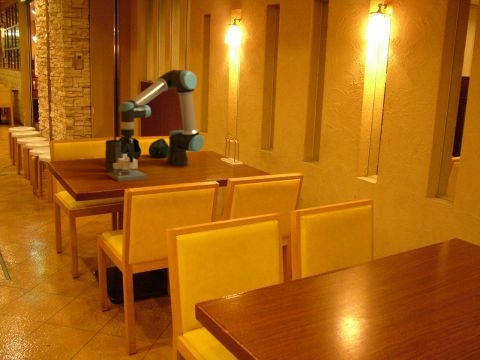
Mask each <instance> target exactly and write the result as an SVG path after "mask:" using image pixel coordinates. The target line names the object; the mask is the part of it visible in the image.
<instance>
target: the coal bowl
mask: <svg viewBox="0 0 480 360" xmlns="http://www.w3.org/2000/svg"><path fill="white" fill-rule="evenodd" d="M122 137H124V136H122ZM131 138H132V139H134V150H135V156H134V157H133V158H134V159H136V160H138V161H139V159H140V157H141V155H142V149H141V147H140V143H139V139H137V138H134V137H131ZM118 140H120V141H122V140H121V137H120V138H119V139H118ZM126 154H127V157H128V156H129V152H128V147H127V153H126Z"/></svg>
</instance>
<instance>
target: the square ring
mask: <svg viewBox="0 0 480 360" xmlns="http://www.w3.org/2000/svg"><path fill="white" fill-rule="evenodd" d="M138 161H139V159H138V160H136V159H134V158H133V167H132V168H129V160H125V158H119V159H118V163H113V168H114V169H123V171H125V169H130V170H136V169H138Z"/></svg>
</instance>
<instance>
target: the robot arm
mask: <svg viewBox="0 0 480 360" xmlns="http://www.w3.org/2000/svg"><path fill="white" fill-rule="evenodd" d="M197 84H198V80H197V76H196V75H195V73H194V72H192V71H191V70H186V69H185V70H184V69H172V70H168V71H167V72H166V73H164V74H162V75H161V76H159V77H158V78H157V79H156V81H155V82H154V83H153V84H151V85H150V86H148V87H147V88H145V89H144V90H143V91H141V92H140V93H138V94H137V95H135V97H133V98H132V99H130V100H128V101H127V102H126V101H123V102H121V103H120V104H119V106H118V112H119V113H120V127H121V129H120V135H121V137H120V138H121V140H122V141H121V152H122V158H125V157H127V154H126V153H127V147H128V152H129V156H128V158H129V168H132V167H133V157H134V156H135V150H134V138H133V137H132V136H134V135H135V130H134V129H135V119H143V118H144V119H146V118H149V117H151V115H152V110H151V107H150V106H149V105H147V104H149V102H151V101H152V100H154V99H155V98H156V97H158V96H159V95H160V94H162V93H163V92H167V91H168V90H171V89H175V92H176V94H177V95H178V97H179V103H180V111H181V112H180V113H181V120H182V122H181V123H182V129H181V130H180V129H179V130H171V131H170V132H169V135H168V140H169V141H168V142H169V143H168V146H169V155H168V156H167V157H166V164H167V165H171V166H183V165H184V166H185V165H188V164H189V157H188V155H187V152H191V153H197V152H199V151H201V150H202V148H203V146H204V143H205V142H204V137H203V136H202V135H200V132H199V129H197V123H196V114H195V105H194V98H193V97H194V96H193V93H194V92H195V88H197ZM123 136H124V137H123ZM132 138H133V139H132Z"/></svg>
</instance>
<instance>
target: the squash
mask: <svg viewBox="0 0 480 360" xmlns="http://www.w3.org/2000/svg"><path fill="white" fill-rule="evenodd" d="M148 154H149V155H150V157H152V158H154V159H155V158H162V159H165V158H167V157H168V155H169V143H168V142H167V141H166V140H165V139H164V138H159V139H157V140H154V141H153V142H151V144H150V145H149V146H148Z"/></svg>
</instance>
